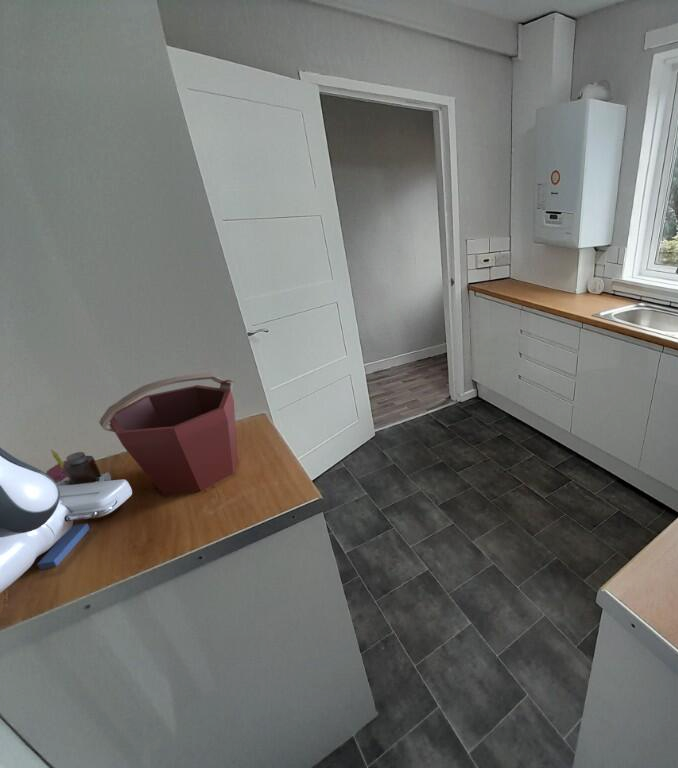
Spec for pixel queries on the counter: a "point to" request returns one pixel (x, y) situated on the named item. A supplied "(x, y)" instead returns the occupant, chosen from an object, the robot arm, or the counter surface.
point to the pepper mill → (81, 468)
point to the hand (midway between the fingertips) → (90, 477)
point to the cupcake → (57, 469)
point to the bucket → (179, 433)
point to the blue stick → (63, 546)
